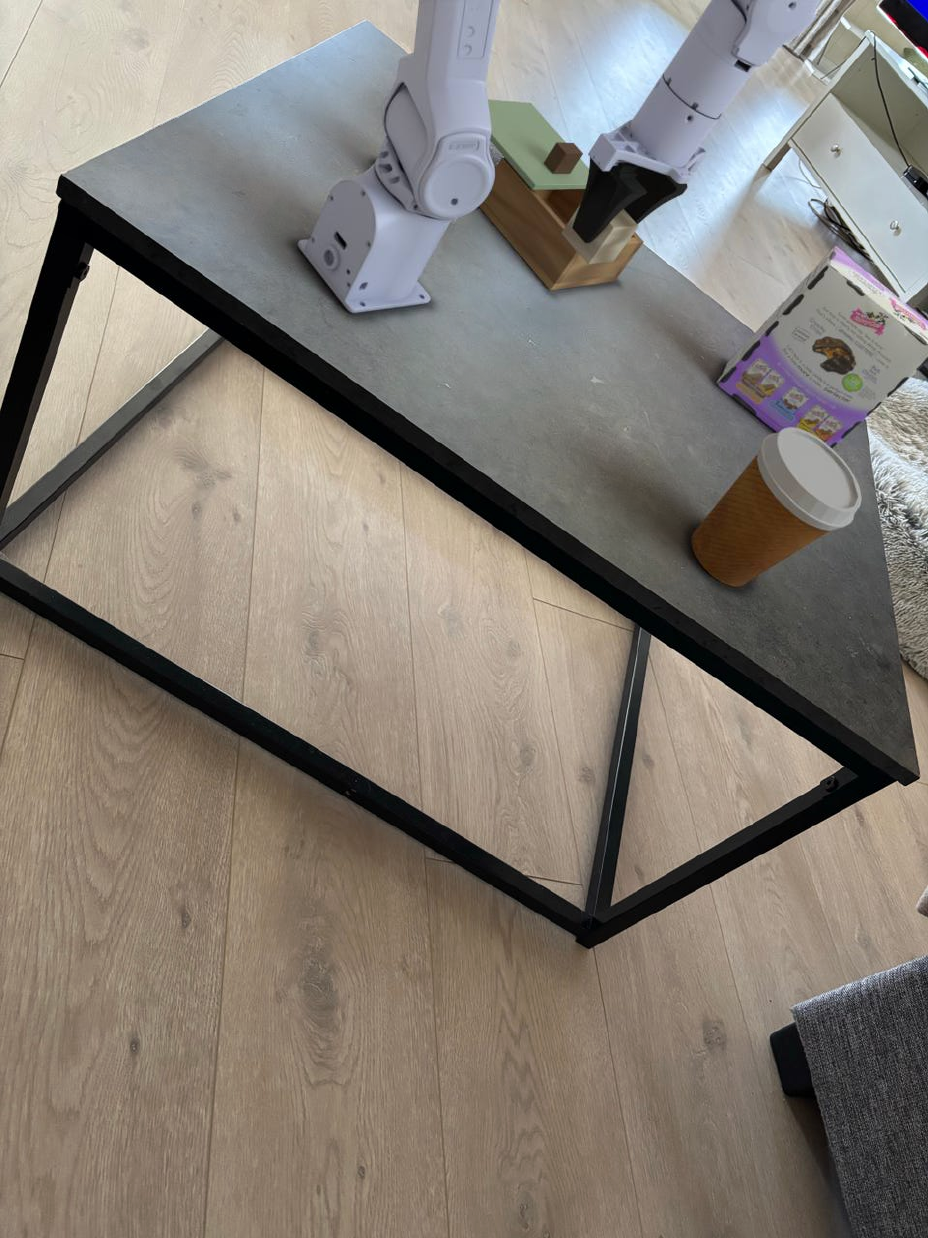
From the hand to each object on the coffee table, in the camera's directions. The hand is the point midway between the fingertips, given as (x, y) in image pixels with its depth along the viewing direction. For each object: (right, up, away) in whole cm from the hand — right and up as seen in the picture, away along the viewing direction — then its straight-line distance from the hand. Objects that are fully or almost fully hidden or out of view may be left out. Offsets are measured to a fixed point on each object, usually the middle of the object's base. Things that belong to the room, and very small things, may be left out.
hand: (595, 234), depth 86 cm
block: (-1, -1, +1) cm, 1 cm away
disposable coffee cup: (+11, -29, -2) cm, 31 cm away
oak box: (-3, +5, +15) cm, 16 cm away
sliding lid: (-5, +14, +12) cm, 19 cm away
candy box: (+21, -12, +18) cm, 31 cm away
